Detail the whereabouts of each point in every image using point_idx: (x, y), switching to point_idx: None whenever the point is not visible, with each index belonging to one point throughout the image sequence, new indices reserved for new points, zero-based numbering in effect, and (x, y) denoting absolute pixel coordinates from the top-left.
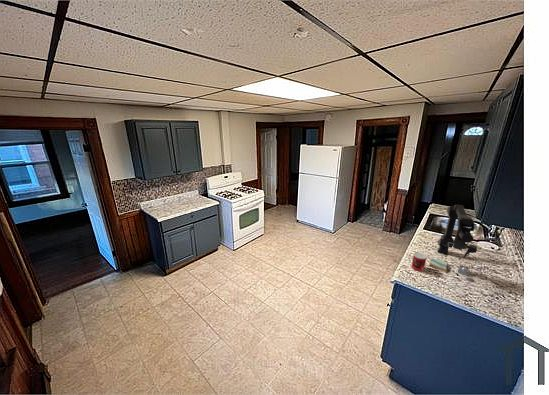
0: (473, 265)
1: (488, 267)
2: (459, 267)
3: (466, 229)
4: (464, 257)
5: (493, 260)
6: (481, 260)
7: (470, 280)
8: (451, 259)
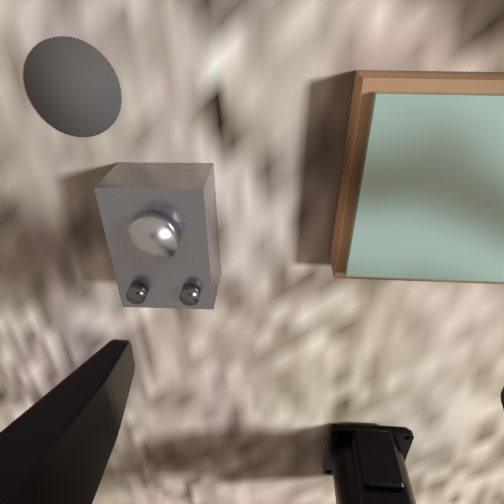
0: None
1: None
2: (210, 250)
3: None
4: (101, 351)
5: None
6: None
7: (62, 68)
8: (293, 383)
